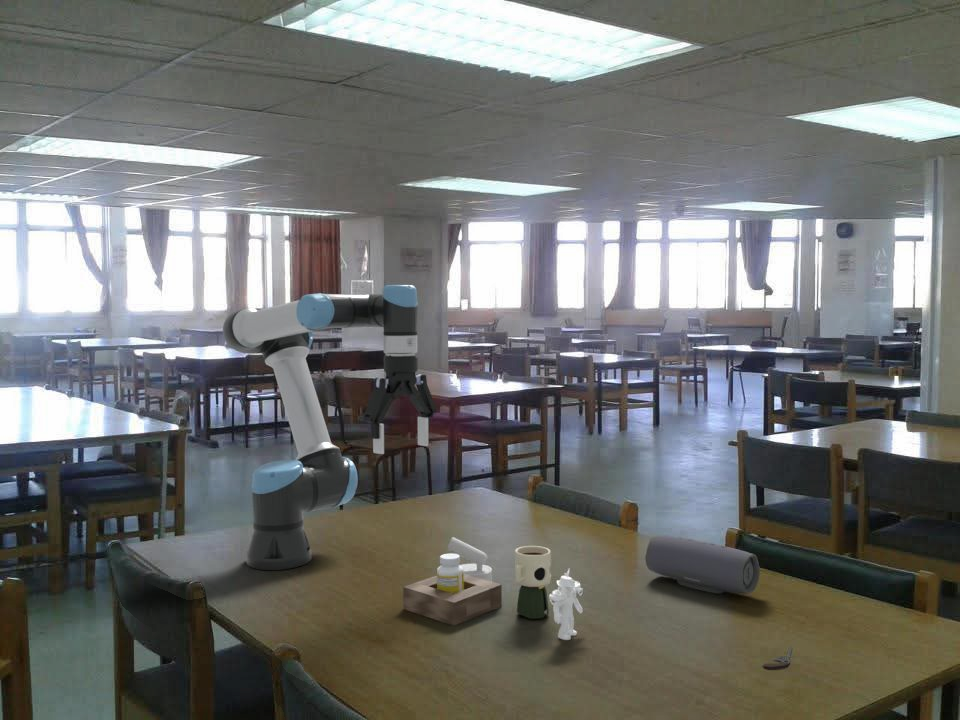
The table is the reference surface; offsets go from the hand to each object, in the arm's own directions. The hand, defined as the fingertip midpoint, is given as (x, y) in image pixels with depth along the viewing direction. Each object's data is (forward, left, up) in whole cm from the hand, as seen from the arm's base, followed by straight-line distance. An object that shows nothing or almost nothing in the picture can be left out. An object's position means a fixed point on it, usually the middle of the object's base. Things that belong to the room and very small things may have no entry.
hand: (401, 449), depth 194 cm
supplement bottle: (+23, -8, -28) cm, 37 cm away
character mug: (+38, -1, -29) cm, 48 cm away
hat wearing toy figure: (+49, -5, -29) cm, 57 cm away
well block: (+23, -8, -29) cm, 37 cm away
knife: (+82, +12, -29) cm, 88 cm away
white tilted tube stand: (+14, +7, -29) cm, 33 cm away
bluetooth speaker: (+55, +36, -29) cm, 72 cm away
